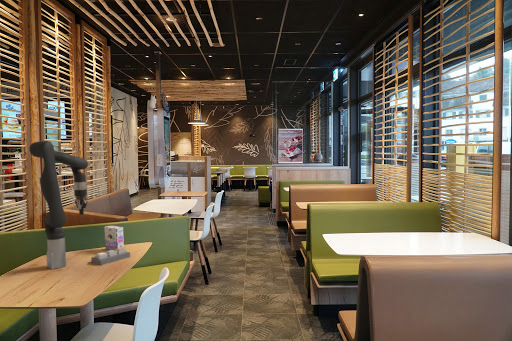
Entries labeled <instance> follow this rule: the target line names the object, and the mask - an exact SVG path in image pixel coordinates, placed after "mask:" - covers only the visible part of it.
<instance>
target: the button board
mask: <svg viewBox="0 0 512 341" xmlns="http://www.w3.org/2000/svg"><path fill="white" fill-rule="evenodd" d="M114 251H115V252H112V253H108V252H107V251H104V253H106V254H104V255H100V256H99V255H97V254H98V253H96V254H94V256H92V257H91V263H93V264H96V265H99V266H103V265H107V264H111V263H114V262H118V261H121V260H124V259H128V258H131V252H130V251H127V249H126V248H124V250H120V251H119V250H116V249H115V250H114Z"/></svg>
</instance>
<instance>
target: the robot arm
mask: <svg viewBox="0 0 512 341" xmlns="http://www.w3.org/2000/svg"><path fill="white" fill-rule="evenodd" d="M29 152H30V154H31V156H33V157H35V158H40V159H43V165H44V166H43V170H42V172H41V175H40V178H39V184H40V189H41V192H42V196H43V199H44V200H45V202H46V203H47V206H48V213H46V215H45V217H44V229H45V231H44V232H45V234H46V239H47V240H46V241H47V242H46V243H47V251H46V268H48V269H49V270H54V269H60V268H64V267H66V266H67V258H66V257H67V256H66V239H65V238H66V236H65V235H66V234H65V231H64V230H63V227H64V226H65V224H66V221H67V217H66V213H65V211H64V206H63V204H62V196H61V191H60V184H59V180H58V174H57V165H56V163H60V164H62V165H65V166H69V167H70V169H71V173H72V174H73V193H74V197H76V200H74V204H75V205H76V208H77V209H78V214H79V215H80V216H82V215H84V214H85V213H84V210H85V209H86V208H87V206H88V200H86V196H87V195H88V191H87V189H88V187H87V180H86V179H87V177H86V173H84V172H81V170H86V169H87V168H88V167H89V162H88V160H86V159H85V158H84V157H83V158H82V157H79V156H76V155H72V154H70V153H68V152H64V151H59V150H55V147H54V145H53V143H52V142H51V141H49V140H43V141H35V142H33V143H31V144H30V146H29Z"/></svg>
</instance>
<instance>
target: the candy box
mask: <svg viewBox="0 0 512 341" xmlns="http://www.w3.org/2000/svg"><path fill="white" fill-rule="evenodd" d="M103 230H104V232H103V233H104V249H105V250H106V251H110V250H115V249H117V248H124V249H125V240H124V238H125V237H124V236H125V235H124V227H123V226H117V225H107V226H106V225H105V226H103Z"/></svg>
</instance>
